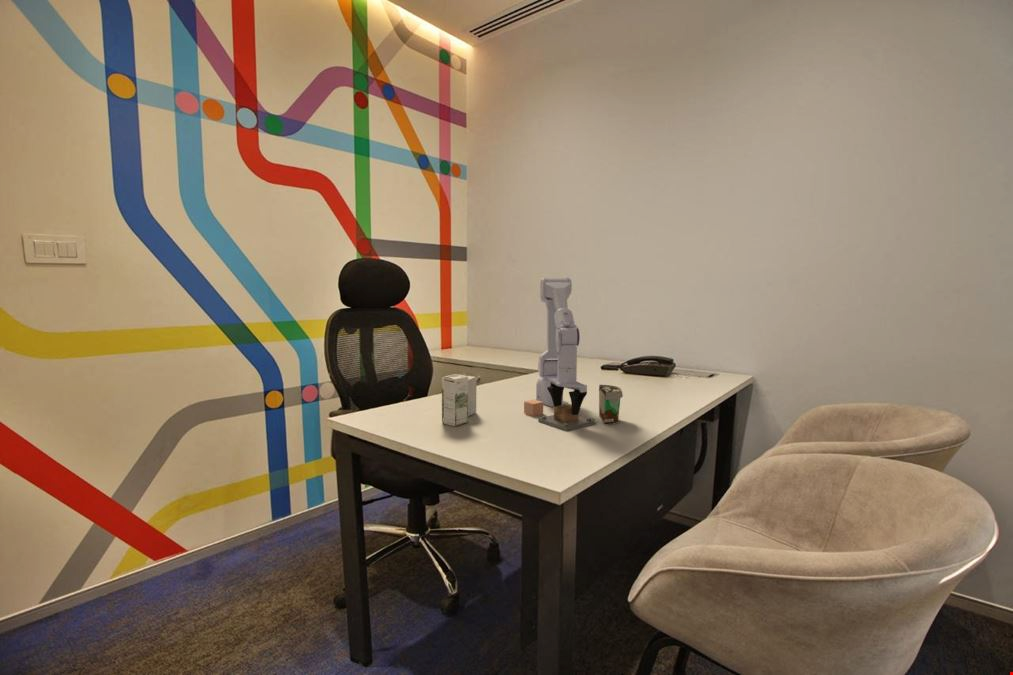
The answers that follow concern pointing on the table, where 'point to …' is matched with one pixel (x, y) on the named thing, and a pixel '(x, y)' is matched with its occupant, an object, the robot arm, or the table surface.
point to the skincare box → (471, 395)
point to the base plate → (567, 425)
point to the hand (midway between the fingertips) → (566, 411)
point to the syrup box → (454, 399)
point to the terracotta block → (533, 407)
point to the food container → (609, 403)
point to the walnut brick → (564, 413)
